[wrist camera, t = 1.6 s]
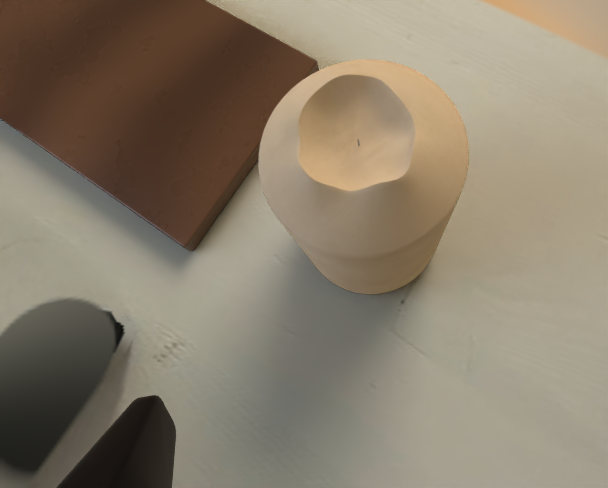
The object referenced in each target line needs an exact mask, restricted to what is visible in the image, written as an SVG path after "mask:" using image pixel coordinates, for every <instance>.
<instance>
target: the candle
mask: <svg viewBox="0 0 608 488" xmlns="http://www.w3.org/2000/svg"><path fill="white" fill-rule="evenodd" d="M468 162H469V147H468V138H467V134H466V130H465V126H464V124H463V121H462V119H461V116H460V114H459V112H458V110H457V109H456V107H455V105H454V103H453V102H452V101H451V100H450V98H449V97H448V96H447V94H446V93H445V92H444V91H443V90H442V89H441V88H440V87H439V86H438V85H437V84H435V83H434V82H433V81H431V80H430V79H429V78H427V77H426V76H424V75H423V74H421V73H419V72H417V71H416V70H413V69H411V68H409V67H406V66H404V65H400V64H397V63H393V62H389V61H382V60H353V61H347V62H342V63H338V64H335V65H332V66H329V67H326V68H323V69H321V70H319V71H317V72H315V73H313V74H311V75H310V76H308V77H307V78H305V79H303V80H302V81H301V82H299V83H298V84H297V85H296V86H294V87H293V88H292V89H291V90H290V91H289V92H288V93H287V94H286V95H285V96H284V97H283V98H282V100H281V101H280V102H279V103H278V105H277V106H276V107H275V109H274V111H273V112H272V114H271V116H270V118H269V119H268V122H267V124H266V126H265V129H264V131H263V135H262V139H261V142H260V148H259V164H258V168H259V176H260V182H261V185H262V189H263V193H264V195H265V197H266V199H267V202H268V204H269V206H270V207H271V209H272V211H273V212H274V214H275V216H276V217H277V218H278V219H279V221H280V222H281V223H282V225H283V226H284V227H285V228H286V230H287V231H288V232H289V233H290V235H291V236H292V237H293V239H294V240H295V241H296V242H297V244H298V245H299V246H300V247H301V249H302V250H303V251H304V253H305V254H306V255H307V256H308V258H309V259H310V260H311V261H312V263H313V264H314V265H315V266H316V268H317V269H318V270H319V271H320V272H321V273H322V274H323V275H324V276H325V277H326V278H327V279H328V280H330V281H331V282H333V283H334V284H335V285H337V286H339V287H341V288H343V289H346V290H348V291H351V292H356V293H360V294H381V293H387V292H390V291H393V290H396V289H398V288H401V287H403V286H405V285H406V284H408V283H409V282H411V281H412V280H413V279H415V278H416V277H417V276H418V275H419V274H420V273H421V272H422V271H423V270H424V269H425V267H426V266H427V264H428V263H429V261H430V260H431V258H432V256H433V254H434V252H435V250H436V248H437V246H438V243H439V241H440V239H441V237H442V234H443V232H444V230H445V228H446V225H447V223H448V221H449V219H450V216H451V214H452V212H453V210H454V208H455V205H456V203H457V201H458V199H459V196H460V194H461V191H462V188H463V186H464V183H465V180H466V175H467V170H468Z"/></svg>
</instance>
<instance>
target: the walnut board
mask: <svg viewBox="0 0 608 488" xmlns="http://www.w3.org/2000/svg"><path fill="white" fill-rule="evenodd" d="M317 71H319V68H318V63H317V61H316V60H315V59H313V58H311V57H309V56H307V55H305V54H303V53H302V52H300V51H298V50H296V49H294V48H292V47H291V46H289V45H287V44H285V43H283V42H281V41H279V40H278V39H276V38H274V37H272V36H270V35H268V34H267V33H265V32H263V31H261V30H259V29H257V28H255V27H254V26H252V25H250V24H248V23H246V22H244V21H243V20H241V19H239V18H237V17H235V16H233V15H231V14H230V13H228V12H226V11H224V10H222V9H220V8H219V7H217V6H215V5H213V4H211V3H209V2H207V1H206V0H0V119H2V120H3V121H5V122H6V123H7V124H9V125H10V126H12V127H13V128H15V129H16V130H17V131H19V132H20V133H22V134H23V135H25V136H26V137H27V138H29V139H30V140H32V141H33V142H35V143H36V144H37V145H39V146H40V147H42V148H43V149H44V150H46V151H47V152H49V153H50V154H52V155H53V156H54V157H56V158H57V159H59V160H60V161H62V162H63V163H64V164H66V165H67V166H69V167H70V168H72V169H73V170H74V171H76V172H77V173H79V174H80V175H82V176H83V177H84V178H86V179H87V180H89V181H90V182H91V183H93V184H94V185H96V186H97V187H99V188H100V189H101V190H103V191H104V192H106V193H107V194H109V195H110V196H111V197H113V198H114V199H116V200H117V201H119V202H120V203H121V204H123V205H124V206H126V207H127V208H129V209H130V210H131V211H133V212H134V213H136V214H137V215H139V216H140V217H141V218H143V219H144V220H146V221H147V222H148V223H150V224H151V225H153V226H154V227H156V228H157V229H158V230H160V231H161V232H163V233H164V234H166V235H167V236H168V237H170V238H171V239H173V240H174V241H176V242H177V243H178V244H180V245H181V246H183V247H184V248H186V249H188V250H190V251H194V249H195V248H196V246H197V245H198V244H199V242H200V241H201V239H202V238H203V236H204V235H205V234H206V232H207V231H208V229H209V228H210V227H211V225H212V224H213V222H214V221H215V219H216V218H217V217H218V215H219V214H220V212H221V211H222V210H223V208H224V207H225V205H226V204H227V202H228V201H229V200H230V198H231V197H232V195H233V194H234V193H235V191H236V190H237V188H238V187H239V186H240V184H241V183H242V181H243V180H244V178H245V177H246V176H247V174H248V173H249V171H250V170H251V169H252V167H253V166H254V164H255V163H256V161H257V160H258V159H259V148H260V142H261V139H262V135H263V131H264V129H265V126H266V124H267V122H268V119H269V118H270V116H271V114H272V112H273V111H274V109H275V107H276V106H277V105H278V103H279V102H280V101H281V100H282V98H283V97H284V96H285V95H286V94H287V93H288V92H289V91H290V90H291V89H292V88H293V87H294V86H296V85H297V84H298V83H299V82H301V81H302V80H303V79H305V78H307V77H308V76H310V75H311V74H313V73H315V72H317Z"/></svg>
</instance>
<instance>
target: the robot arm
mask: <svg viewBox="0 0 608 488" xmlns="http://www.w3.org/2000/svg"><path fill="white" fill-rule="evenodd" d="M175 441H176V429H175V425H174V422H173V420H172V418H171V416H170V414H169V413H168V411H167V409H166V407H165V405H164V403H163V401H162V400H161V398H160V397H159V396H155V395H153V396H147V397H140V398H137V399H135V400H134V401H133V402H132V403H131V404H130V405H129V407H128V408H127V409H126V410H125V411H124V412H123V413H122V414H121V416H120V417H119V418H118V419H117V420H116V421H115V422H114V423H113V425H112V426H111V427H110V428H109V429H108V430H107V431H106V432H105V434H104V435H103V436H102V437H101V438H100V439H99V440H98V441H97V443H96V444H95V445H94V446H93V447H92V448H91V449H90V451H89V452H88V453H87V454H86V455H85V456H84V457H83V458H82V460H81V461H80V462H79V463H78V464H77V465H76V466H75V467H74V469H73V470H72V471H71V472H70V473H69V474H68V475H67V476H66V478H65V479H64V480H63V481H62V482H61V483H60V484H59V485H58V487H57V488H172V479H173V466H174V454H175Z"/></svg>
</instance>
